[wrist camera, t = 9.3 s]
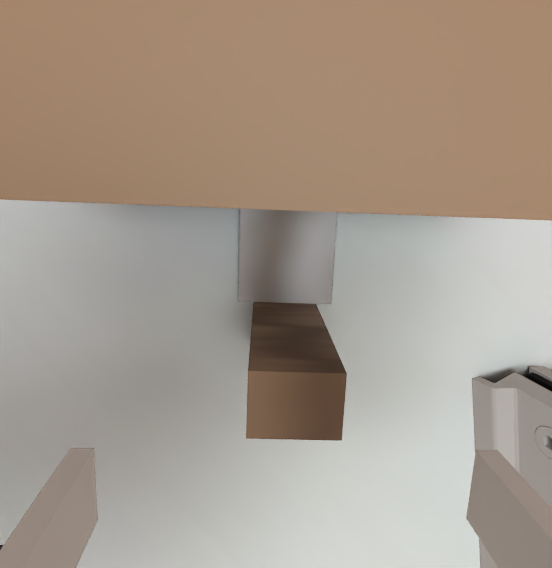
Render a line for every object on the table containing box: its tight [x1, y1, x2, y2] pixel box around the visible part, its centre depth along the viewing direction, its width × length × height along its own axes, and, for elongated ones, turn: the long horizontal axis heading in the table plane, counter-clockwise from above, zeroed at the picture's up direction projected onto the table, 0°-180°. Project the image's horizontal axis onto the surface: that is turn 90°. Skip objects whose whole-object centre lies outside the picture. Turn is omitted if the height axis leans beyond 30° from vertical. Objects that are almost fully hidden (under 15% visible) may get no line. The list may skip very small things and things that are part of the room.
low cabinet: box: [0, 0, 552, 220], centre depth 21 cm, size 22×11×14 cm, turn 88°
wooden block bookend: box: [238, 208, 347, 440], centre depth 23 cm, size 6×20×12 cm, turn 178°
